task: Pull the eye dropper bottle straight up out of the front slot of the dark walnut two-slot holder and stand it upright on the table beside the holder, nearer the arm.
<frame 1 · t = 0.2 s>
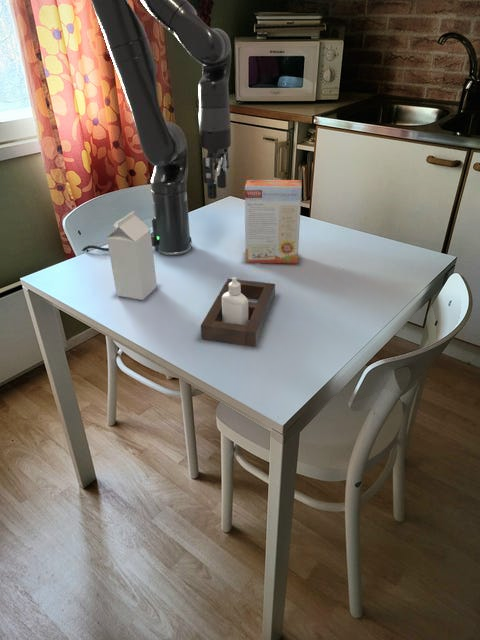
hand: (217, 192, 124), 17 cm above the table, tool pointing down, fingers open, 8 cm apart
cracker box: (271, 259, 130), on the table
holder: (240, 316, 106), on the table
milk carton: (137, 292, 116), on the table
eye dropper bottle: (235, 328, 102), resting in holder
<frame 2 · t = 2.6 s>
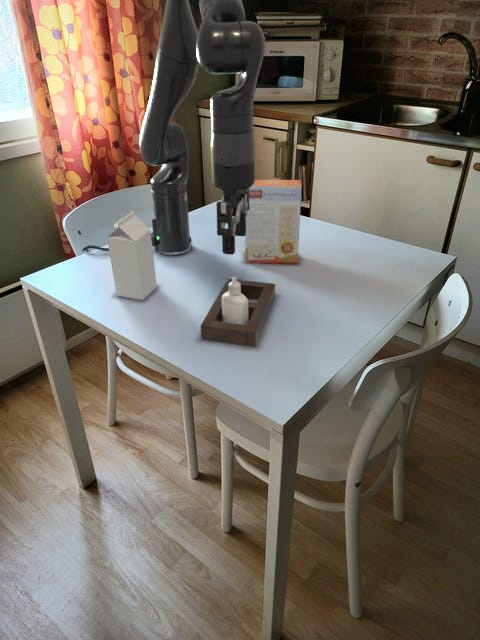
hand: (234, 244, 92), 19 cm above the table, tool pointing down, fingers open, 8 cm apart
nothing on the table moved.
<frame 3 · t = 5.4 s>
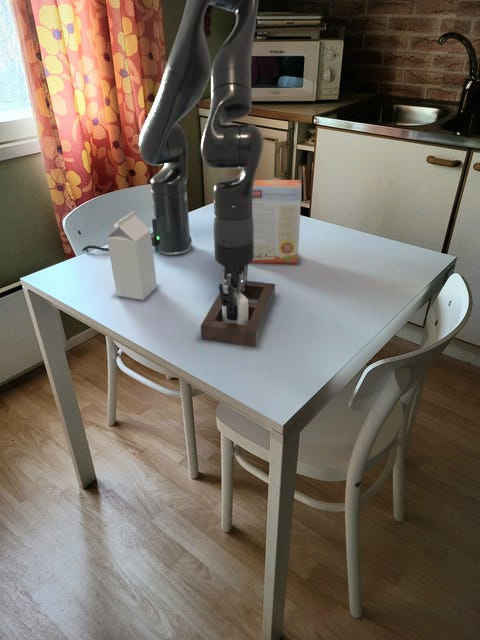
hand: (235, 313, 100), 4 cm above the table, tool pointing down, fingers closed on eye dropper bottle, 4 cm apart
eye dropper bottle: (235, 328, 102), resting in holder, touching gripper
everything else where it was.
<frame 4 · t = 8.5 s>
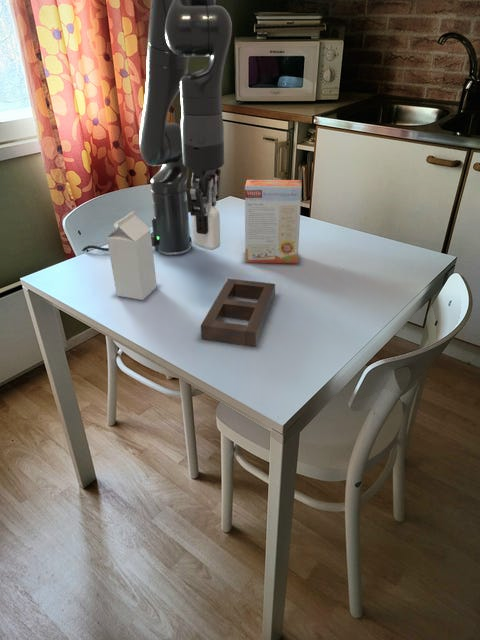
hand: (206, 228, 95), 21 cm above the table, tool pointing down, fingers closed on eye dropper bottle, 4 cm apart
eye dropper bottle: (206, 246, 97), point 17 cm above the table, touching gripper
everything else where it was.
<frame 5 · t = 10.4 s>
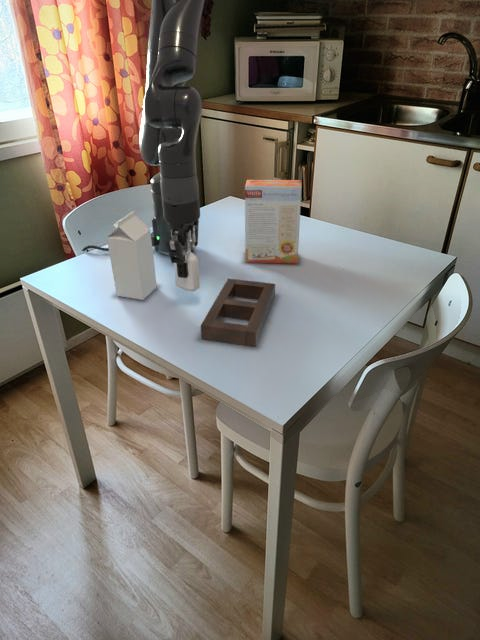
hand: (186, 272, 106), 8 cm above the table, tool pointing down, fingers closed on eye dropper bottle, 4 cm apart
eye dropper bottle: (187, 287, 108), point 5 cm above the table, touching gripper
everything else where it was.
when the fingers open (4 cm above the table, at t = 12.1 s): eye dropper bottle stays where it is, on the table.
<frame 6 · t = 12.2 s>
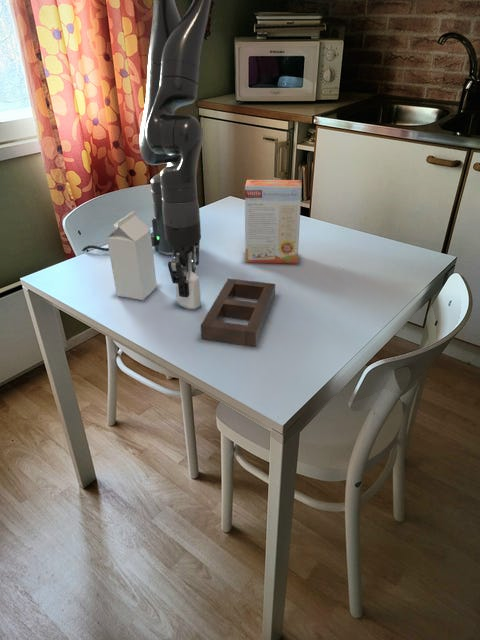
hand: (187, 290, 108), 4 cm above the table, tool pointing down, fingers open, 4 cm apart
eye dropper bottle: (189, 305, 110), on the table
everything else where it was.
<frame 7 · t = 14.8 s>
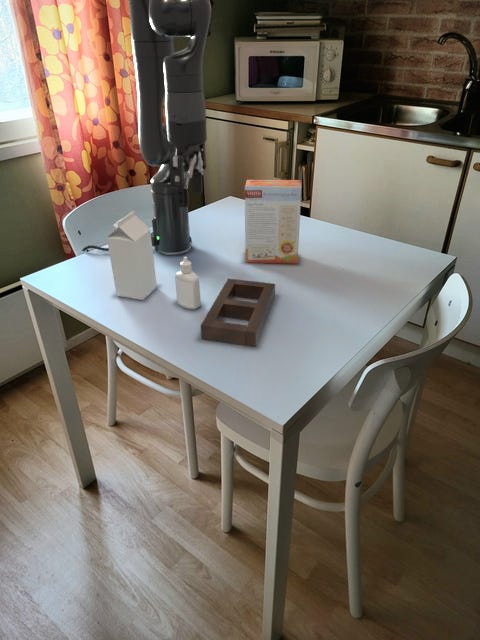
hand: (190, 199, 100), 24 cm above the table, tool pointing down, fingers open, 8 cm apart
nothing on the table moved.
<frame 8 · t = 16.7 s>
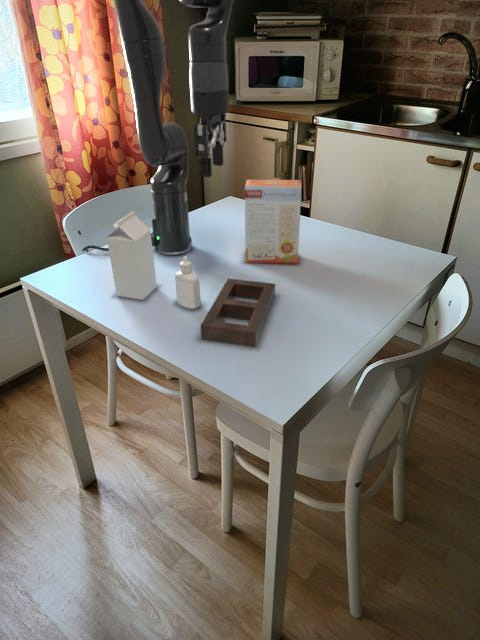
hand: (212, 170, 102), 28 cm above the table, tool pointing down, fingers open, 8 cm apart
nothing on the table moved.
at the end: eye dropper bottle inside the target area (0.2 cm from its centre), on the table; eye dropper bottle tilted 0°; eye dropper bottle touching table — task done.
